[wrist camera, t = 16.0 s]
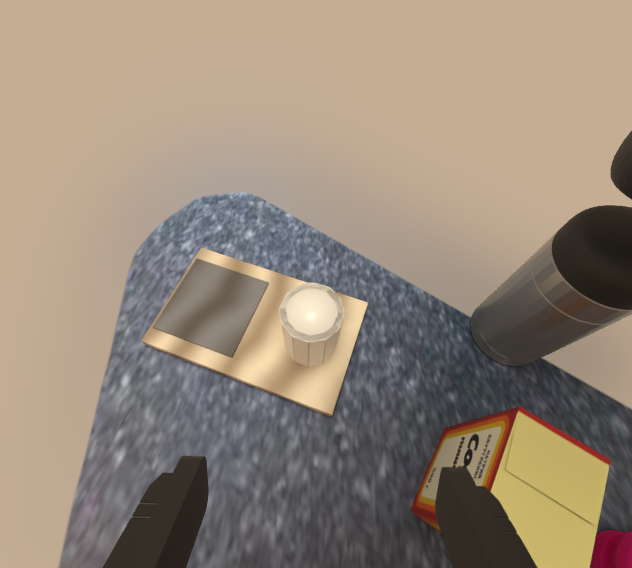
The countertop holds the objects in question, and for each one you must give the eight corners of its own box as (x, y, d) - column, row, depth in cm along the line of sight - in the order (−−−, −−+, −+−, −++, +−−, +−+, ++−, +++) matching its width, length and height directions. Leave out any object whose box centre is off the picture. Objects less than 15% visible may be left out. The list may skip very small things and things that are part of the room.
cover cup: (314, 307, 44) (315, 272, 37) (347, 343, 42) (356, 315, 34) (274, 337, 42) (267, 306, 34) (307, 377, 40) (307, 354, 32)
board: (146, 344, 43) (139, 339, 41) (204, 253, 50) (200, 246, 48) (331, 416, 39) (332, 414, 38) (366, 307, 46) (368, 301, 45)
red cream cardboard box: (469, 553, 34) (585, 614, 19) (409, 510, 35) (478, 538, 21) (499, 463, 37) (614, 459, 23) (445, 428, 39) (522, 405, 25)
